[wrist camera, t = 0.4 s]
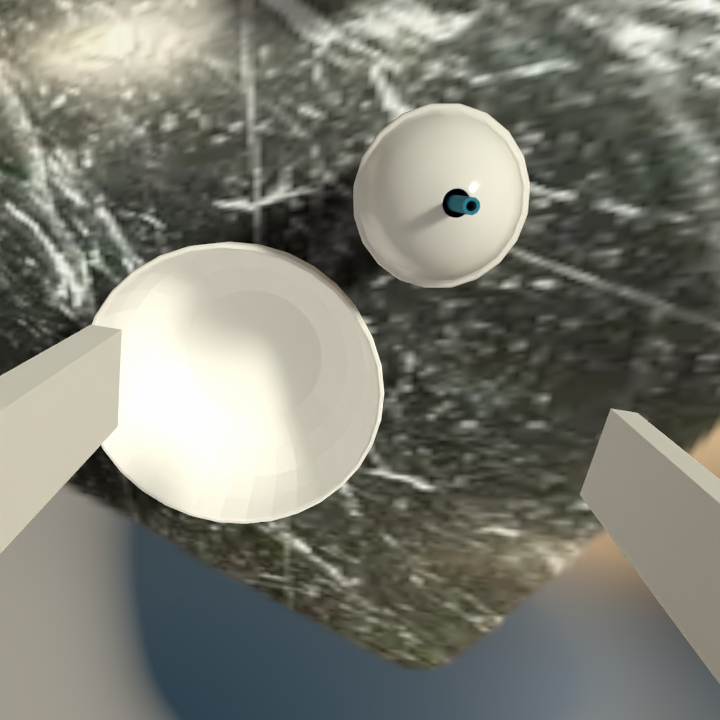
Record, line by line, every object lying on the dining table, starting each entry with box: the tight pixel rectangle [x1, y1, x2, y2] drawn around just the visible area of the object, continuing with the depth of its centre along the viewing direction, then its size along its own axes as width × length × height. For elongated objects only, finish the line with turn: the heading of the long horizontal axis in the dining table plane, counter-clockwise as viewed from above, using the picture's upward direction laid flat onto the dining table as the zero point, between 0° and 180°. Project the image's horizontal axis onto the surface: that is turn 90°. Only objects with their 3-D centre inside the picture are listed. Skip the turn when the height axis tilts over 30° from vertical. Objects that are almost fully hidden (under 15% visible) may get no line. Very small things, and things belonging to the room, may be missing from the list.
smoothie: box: [353, 104, 530, 288], centre depth 29 cm, size 8×8×20 cm
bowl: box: [92, 242, 384, 524], centre depth 38 cm, size 19×19×9 cm
